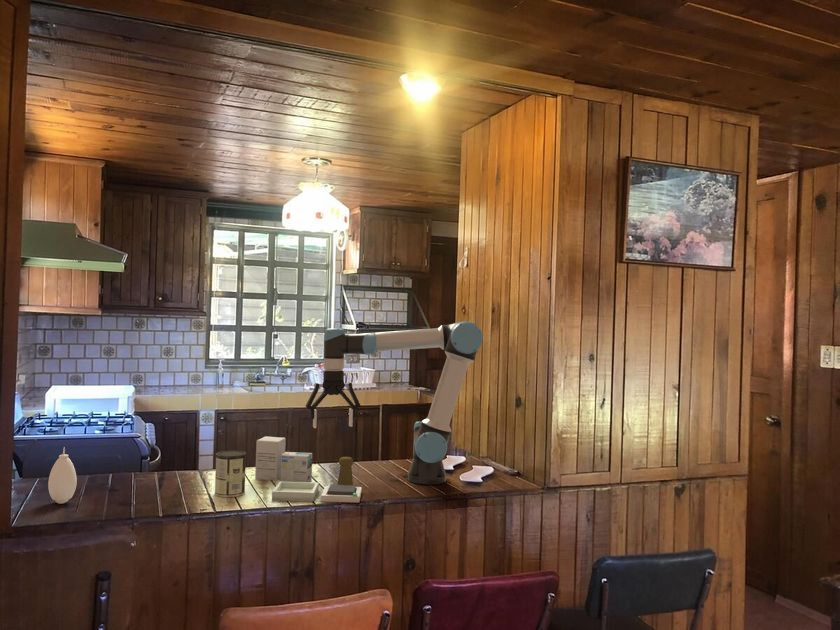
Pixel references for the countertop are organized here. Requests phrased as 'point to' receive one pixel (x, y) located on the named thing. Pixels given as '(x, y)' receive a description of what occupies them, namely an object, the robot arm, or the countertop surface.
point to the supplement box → (269, 457)
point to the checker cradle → (341, 496)
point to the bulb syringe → (62, 479)
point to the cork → (345, 471)
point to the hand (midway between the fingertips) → (332, 427)
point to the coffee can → (230, 473)
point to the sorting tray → (295, 491)
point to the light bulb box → (296, 467)
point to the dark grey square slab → (341, 489)
